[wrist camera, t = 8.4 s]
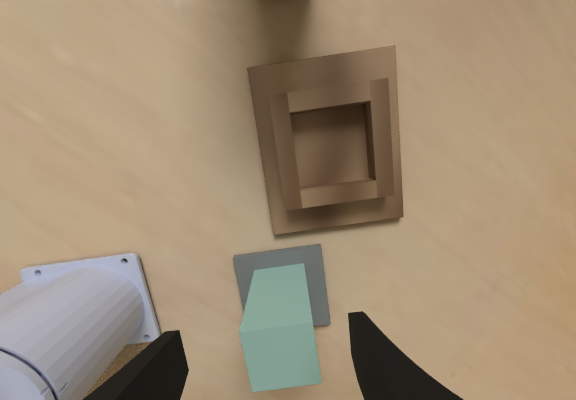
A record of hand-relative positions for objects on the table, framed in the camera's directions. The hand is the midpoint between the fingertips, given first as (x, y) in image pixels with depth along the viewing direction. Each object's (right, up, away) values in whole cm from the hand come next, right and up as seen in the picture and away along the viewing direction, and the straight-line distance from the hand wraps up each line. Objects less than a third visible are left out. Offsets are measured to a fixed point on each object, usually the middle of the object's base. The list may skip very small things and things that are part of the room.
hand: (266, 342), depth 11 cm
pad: (0, -1, +11) cm, 11 cm away
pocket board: (+4, +10, +9) cm, 14 cm away
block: (0, -1, +10) cm, 10 cm away
